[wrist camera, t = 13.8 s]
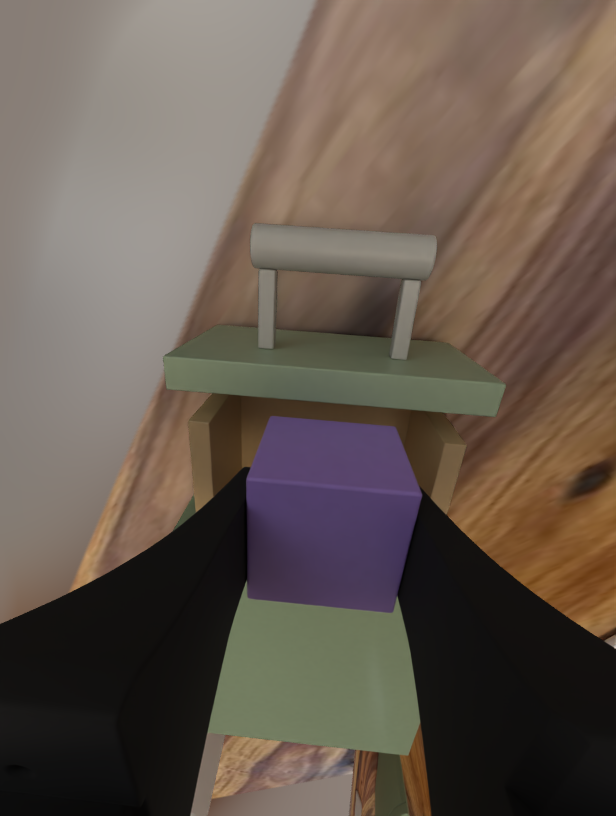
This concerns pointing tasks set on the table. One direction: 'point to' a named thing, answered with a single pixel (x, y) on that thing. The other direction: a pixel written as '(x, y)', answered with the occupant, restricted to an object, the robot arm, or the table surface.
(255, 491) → the cube
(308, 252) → the drawer
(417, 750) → the beer glass
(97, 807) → the robot arm
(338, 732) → the cabinet
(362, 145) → the table surface
